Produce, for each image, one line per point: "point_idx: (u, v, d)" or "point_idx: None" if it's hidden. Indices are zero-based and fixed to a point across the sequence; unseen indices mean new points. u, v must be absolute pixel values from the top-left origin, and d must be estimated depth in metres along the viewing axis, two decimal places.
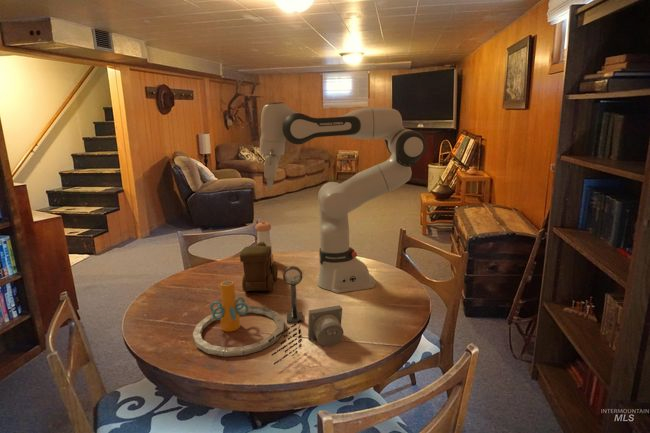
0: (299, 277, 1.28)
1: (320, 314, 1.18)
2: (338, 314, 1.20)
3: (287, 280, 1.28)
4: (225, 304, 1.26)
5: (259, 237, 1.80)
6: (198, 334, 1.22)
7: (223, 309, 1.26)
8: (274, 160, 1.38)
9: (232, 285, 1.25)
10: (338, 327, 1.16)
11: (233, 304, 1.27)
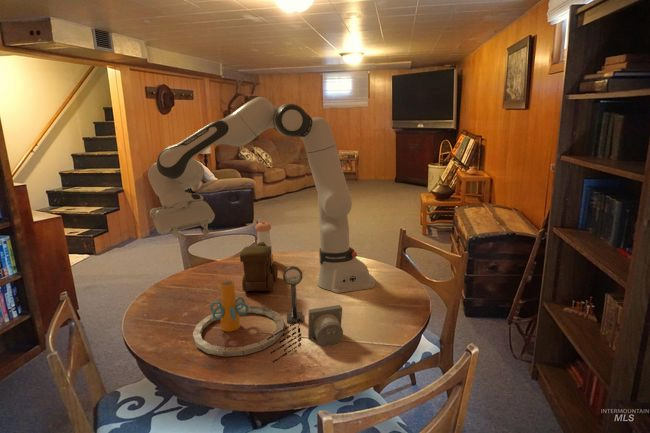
0: (299, 277, 1.28)
1: (320, 313, 1.19)
2: (338, 314, 1.21)
3: (287, 280, 1.28)
4: (225, 304, 1.26)
5: (259, 237, 1.80)
6: (198, 334, 1.22)
7: (223, 309, 1.26)
8: (155, 213, 1.31)
9: (232, 285, 1.25)
10: (337, 327, 1.16)
11: (233, 304, 1.27)
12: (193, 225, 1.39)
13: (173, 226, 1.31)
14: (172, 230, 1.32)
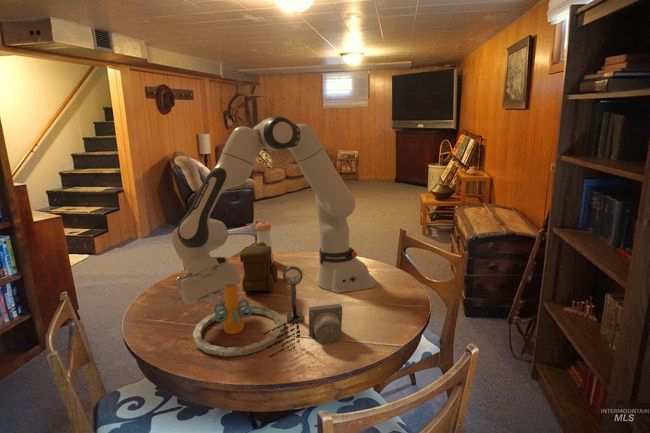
0: (299, 277, 1.28)
1: (320, 311, 1.20)
2: (338, 312, 1.21)
3: (287, 280, 1.28)
4: (228, 306, 1.24)
5: (259, 237, 1.80)
6: (198, 334, 1.22)
7: (226, 311, 1.24)
8: (181, 283, 1.26)
9: (235, 287, 1.23)
10: (336, 325, 1.17)
11: (236, 306, 1.25)
12: None
13: (199, 296, 1.26)
14: (208, 296, 1.30)
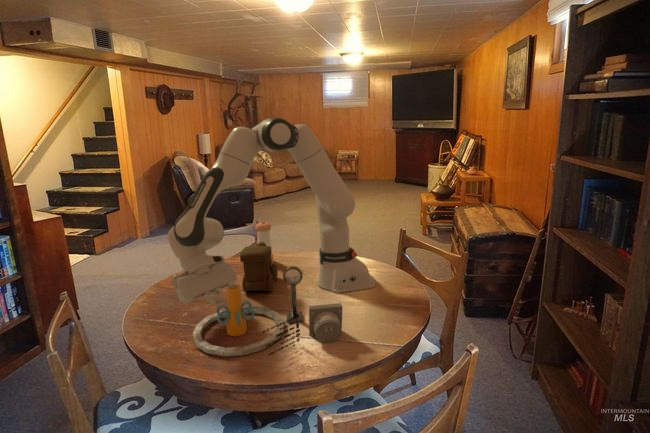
0: (299, 277, 1.28)
1: (320, 310, 1.20)
2: (338, 312, 1.22)
3: (287, 280, 1.28)
4: (231, 308, 1.23)
5: (259, 237, 1.80)
6: (198, 334, 1.22)
7: (229, 313, 1.23)
8: (178, 282, 1.27)
9: (238, 289, 1.22)
10: (335, 325, 1.17)
11: (239, 308, 1.24)
12: None
13: (196, 294, 1.27)
14: (205, 294, 1.31)
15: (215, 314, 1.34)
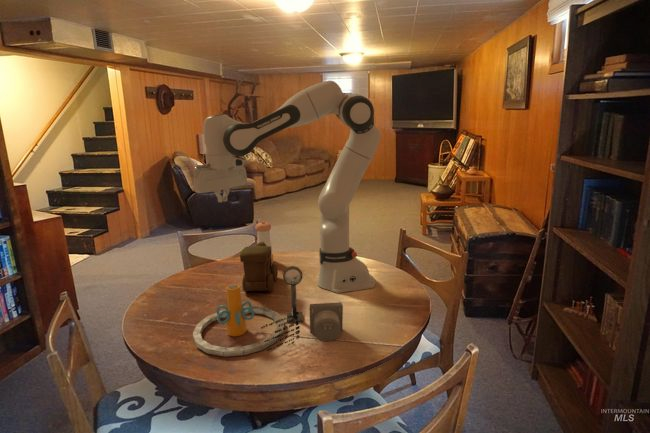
0: (299, 277, 1.28)
1: (320, 309, 1.21)
2: (339, 311, 1.22)
3: (287, 280, 1.28)
4: (231, 308, 1.23)
5: (259, 237, 1.80)
6: (198, 334, 1.22)
7: (229, 313, 1.23)
8: (199, 174, 1.35)
9: (238, 289, 1.22)
10: (335, 323, 1.18)
11: (239, 308, 1.24)
12: None
13: (209, 191, 1.39)
14: (215, 190, 1.43)
15: (215, 314, 1.34)
